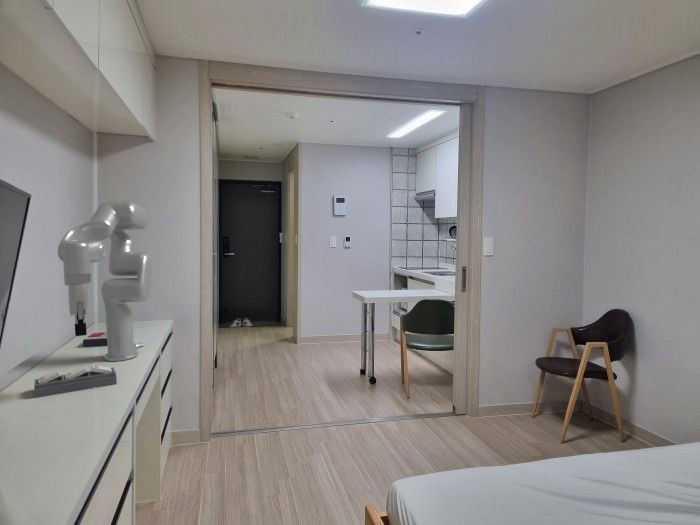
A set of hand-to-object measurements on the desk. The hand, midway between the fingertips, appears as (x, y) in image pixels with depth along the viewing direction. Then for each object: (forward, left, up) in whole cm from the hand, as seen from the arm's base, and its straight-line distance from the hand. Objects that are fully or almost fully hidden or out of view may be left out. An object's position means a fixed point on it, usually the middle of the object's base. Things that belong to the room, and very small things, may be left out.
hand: (81, 335), depth 161 cm
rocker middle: (+2, -1, -13) cm, 13 cm away
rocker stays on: (+8, -5, -13) cm, 16 cm away
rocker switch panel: (+2, -1, -17) cm, 17 cm away
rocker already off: (-5, +3, -13) cm, 14 cm away
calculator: (-40, -49, -18) cm, 66 cm away
